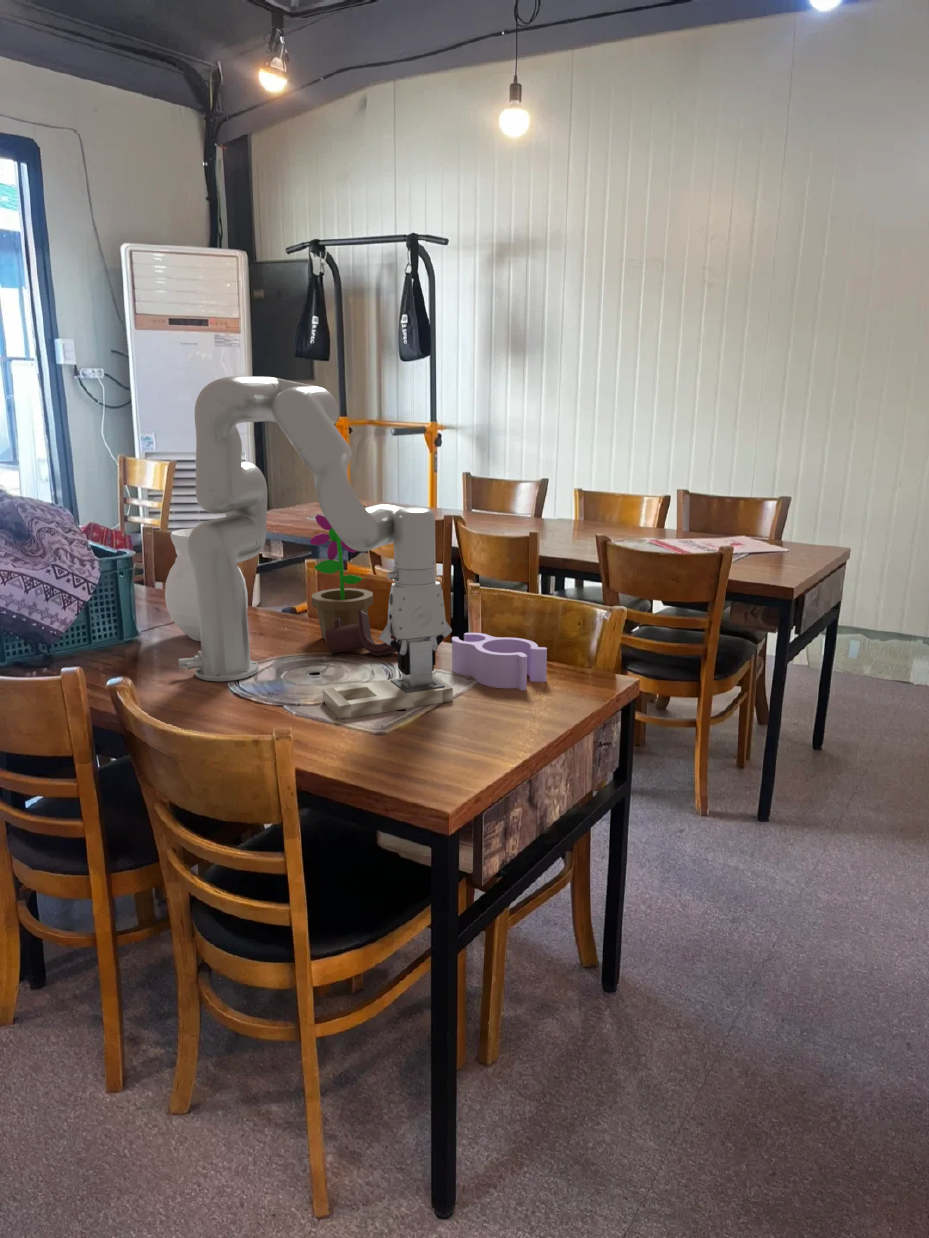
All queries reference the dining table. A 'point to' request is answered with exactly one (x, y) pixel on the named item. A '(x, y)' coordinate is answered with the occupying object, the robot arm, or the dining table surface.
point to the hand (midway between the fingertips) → (416, 670)
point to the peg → (419, 664)
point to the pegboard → (383, 697)
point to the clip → (499, 660)
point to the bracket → (355, 637)
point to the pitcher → (184, 588)
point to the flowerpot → (341, 599)
